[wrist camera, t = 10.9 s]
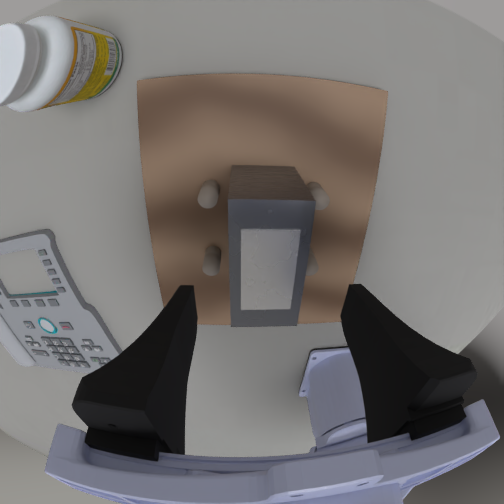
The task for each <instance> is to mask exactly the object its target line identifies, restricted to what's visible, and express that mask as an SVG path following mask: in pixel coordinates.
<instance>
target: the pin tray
mask: <svg viewBox="0 0 504 504" xmlns="http://www.w3.org/2000/svg"><path fill="white" fill-rule="evenodd" d="M387 98H388V91H384V90H380V89H375V88H371V87H366V86H360V85H355V84H349V83H343V82H337V81H330V80H323V79H315V78H306V77H296V76H284V75H268V74H200V75H184V76H172V77H162V78H153V79H145V80H138V81H137V102H138V124H139V140H140V153H141V164H142V174H143V183H144V192H145V200H146V208H147V215H148V222H149V229H150V236H151V242H152V248H153V254H154V260H155V265H156V271H157V276H158V281H159V286H160V291H161V296H162V301H163V305H164V307H165V306H166V305H167V303H168V302H169V300H170V299H171V297H172V296H173V295H174V293H175V292H176V290H177V288H178V287H179V286H180V285H194V292H195V300H196V308H197V316H198V321H197V324H211V325H231V316H230V284H229V241H228V194H229V185H230V176H231V167H232V165H265V166H294V167H295V169H296V170H297V172H298V173H299V175H300V176H301V178H302V179H303V181H304V183H305V184H306V186H307V187H308V189H309V190H310V192H311V194H312V195H313V197H314V199H315V200H316V205H315V213H314V221H313V229H312V236H311V243H310V250H309V257H308V263H307V270H306V276H305V282H304V289H303V295H302V300H301V306H300V312H299V318H298V323H297V324H305V323H327V322H341V317H340V315H341V311H342V308H343V304H344V301H345V298H346V294H347V290H348V287H349V284H353V282H354V278H355V274H356V271H357V267H358V263H359V259H360V255H361V251H362V247H363V243H364V239H365V234H366V230H367V225H368V221H369V216H370V211H371V207H372V202H373V196H374V191H375V186H376V180H377V174H378V168H379V162H380V156H381V149H382V142H383V134H384V126H385V118H386V108H387Z"/></svg>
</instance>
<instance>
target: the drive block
mask: <svg viewBox="0 0 504 504" xmlns="http://www.w3.org/2000/svg"><path fill="white" fill-rule="evenodd" d="M315 205H316V200H315V199H314V197H313V195H312V194H311V192H310V190H309V189H308V187H307V186H306V184H305V183H304V181H303V179H302V178H301V176H300V175H299V173H298V172H297V170H296V169H295V167H294V166H265V165H232V167H231V176H230V185H229V194H228V241H229V284H230V316H231V327H262V326H297V323H298V318H299V312H300V306H301V300H302V295H303V289H304V282H305V276H306V270H307V263H308V257H309V250H310V243H311V236H312V229H313V221H314V213H315Z"/></svg>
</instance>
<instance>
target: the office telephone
mask: <svg viewBox="0 0 504 504" xmlns="http://www.w3.org/2000/svg"><path fill="white" fill-rule="evenodd" d="M27 249H35V251H36V253H37V255H38V257H39V259H40V261H41V263H42V265H43V267H44V268H45V270H46V272H47V274H48V276H49V278H50V280H51V281H52V283H53V285H54V287H55V289H56V291H52V292H42V293H31V294H19V295H10V294H9V293H8V292H7V290H6V288H5V286H4V285H3V283H2V281H1V279H0V342H1V343H2V344H3V346H4V347H5V348H6V350H7V351H8V352H9V353H10V355H11V356H12V357H13V358H14V360H15V361H16V362H17V363H18V364H19V365H21V366H32V365H34V366H40V367H46V368H53V369H60V370H67V371H76V372H84V373H91V372H93V371H95V370H97V369H99V368H100V367H102V366H103V365H105V364H107V363H108V362H109V361H111V360H112V359H114V358H115V357H116V356H118V355H119V354H120V353H122V352H123V351H122V350H121V348H120V347H119V345H118V344H117V342H116V340H115V339H114V337H113V336H112V334H111V333H110V331H109V329H108V328H107V326H106V324H105V323H104V321H103V319H102V318H101V316H100V315H99V313H98V312H97V310H96V309H95V307H94V306H92V305H91V304H88V303H86V301H85V300H84V298H83V297H82V295H81V293H80V292H79V290H78V288H77V286H76V284H75V282H74V281H73V279H72V277H71V275H70V273H69V271H68V269H67V267H66V265H65V263H64V261H63V258H62V256H61V254H60V252H59V250H58V247H57V245H56V242H55V235H54V233H53V232H52V231H51V230H50V229H45V230H39V231H34V232H30V233H26V234H22V235H17V236H13V237H9V238H6V239H2V240H0V255H2V254H6V253H11V252H15V251H20V250H27Z"/></svg>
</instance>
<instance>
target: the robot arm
mask: <svg viewBox="0 0 504 504" xmlns="http://www.w3.org/2000/svg"><path fill="white" fill-rule="evenodd" d="M340 317H341V322H342V327H343V332H344V335H345V338H346V341H347V344H348V348H337V349H325V350H314V351H312V352H311V353H310V356H309V360H308V363H307V367H306V370H305V374H304V377H303V380H302V384H301V387H300V390H299V396H301V397H303V396H307V401H308V407H309V413H310V419H311V425H312V431H313V434H314V436H315V440H316V446H315V447H312V448H311V449H310V452H309V453H306V454H296V455H285V456H269V457H208V456H192V455H185V411H186V394H187V383H188V376H189V371H190V366H191V361H192V356H193V351H194V346H195V341H196V334H197V321H198V316H197V308H196V300H195V292H194V285H180V286H179V287H178V288H177V290H176V292H175V293H174V295H173V296H172V297H171V299H170V300H169V302H168V303H167V305H166V306H165V307H164V308H163V310H162V311H161V312H160V314H159V315H158V316H157V318H156V319H155V320H154V321H153V322H152V323H151V325H150V326H149V327H148V328H147V329H146V330H145V331H144V332H143V333H142V334H141V335H140V336H139V337H138V338H137V339H136V340H135V341H134V342H133V343H132V344H131V345H130V346H129V347H128V348H126V349H125V350H124V351H123V352H122V353H120V354H119V355H118V356H116V357H115V358H114V359H112V360H111V361H109V362H108V363H107V364H105V365H103V366H102V367H100V368H99V369H97V370H95V371H93V372H91V373H90V374H88V375H86V376H84V377H82V379H81V382H80V384H79V386H78V388H77V391H76V394H75V397H74V400H73V403H72V407H73V410H74V411H75V413H76V414H77V415H78V416H79V417H80V418H81V419H82V421H83V422H84V423H85V424H86V425H87V426H88V430H87V433H86V432H84V431H82V430H79V429H76V428H73V427H69V426H66V425H63V424H58V425H57V428H56V431H55V434H54V438H53V441H52V444H51V448H50V451H49V455H48V459H47V463H46V467H45V473H47V474H48V475H50V476H52V477H54V478H55V479H57V480H59V481H61V482H63V483H64V484H66V485H68V486H70V487H72V488H74V489H77V490H80V491H83V492H86V493H88V494H92V495H95V496H98V497H102V498H105V499H108V500H111V501H115V502H118V503H122V504H403V499H404V498H405V497H406V495H407V494H408V493H409V492H410V491H411V489H412V488H413V487H414V486H416V485H418V484H421V483H423V482H425V481H428V480H430V479H432V478H434V477H436V476H439V475H441V474H443V473H445V472H447V471H449V470H451V469H453V468H455V467H457V466H459V465H461V464H463V463H465V462H467V461H469V460H470V459H472V458H474V457H475V456H476V455H478V454H479V453H481V452H482V451H484V450H485V449H486V448H488V447H489V446H490V445H492V444H493V443H494V442H496V441H497V440H498V439H499V438H500V436H499V433H498V431H497V429H496V426H495V424H494V422H493V419H492V417H491V415H490V413H489V411H488V408H487V406H486V404H485V402H484V400H480V401H478V402H476V403H473V404H471V405H469V406H467V407H466V408H464V409H463V407H462V405H461V404H463V403H464V399H463V397H462V395H463V394H464V393H465V392H466V390H468V388H469V387H470V386H471V385H472V384H473V382H474V381H475V379H476V377H477V371H476V369H475V367H474V365H473V364H472V362H471V360H470V359H469V358H466V357H463V356H461V355H458V354H456V353H453V352H451V351H449V350H447V349H445V348H443V347H441V346H439V345H437V344H435V343H433V342H432V341H430V340H428V339H427V338H425V337H423V336H422V335H420V334H419V333H417V332H416V331H415V330H413V329H412V328H410V327H409V326H408V325H406V324H405V323H404V322H403V321H401V320H400V319H399V318H398V317H397V316H395V315H394V314H393V313H392V312H391V311H390V310H389V309H387V308H386V307H385V306H384V305H383V304H382V303H381V302H380V301H379V300H378V299H377V298H376V297H375V296H374V295H372V294H371V293H370V292H369V291H368V290H367V289H366V288H365V287H364V286H363V285H361V284H349V287H348V290H347V294H346V298H345V301H344V304H343V308H342V311H341V315H340Z"/></svg>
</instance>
